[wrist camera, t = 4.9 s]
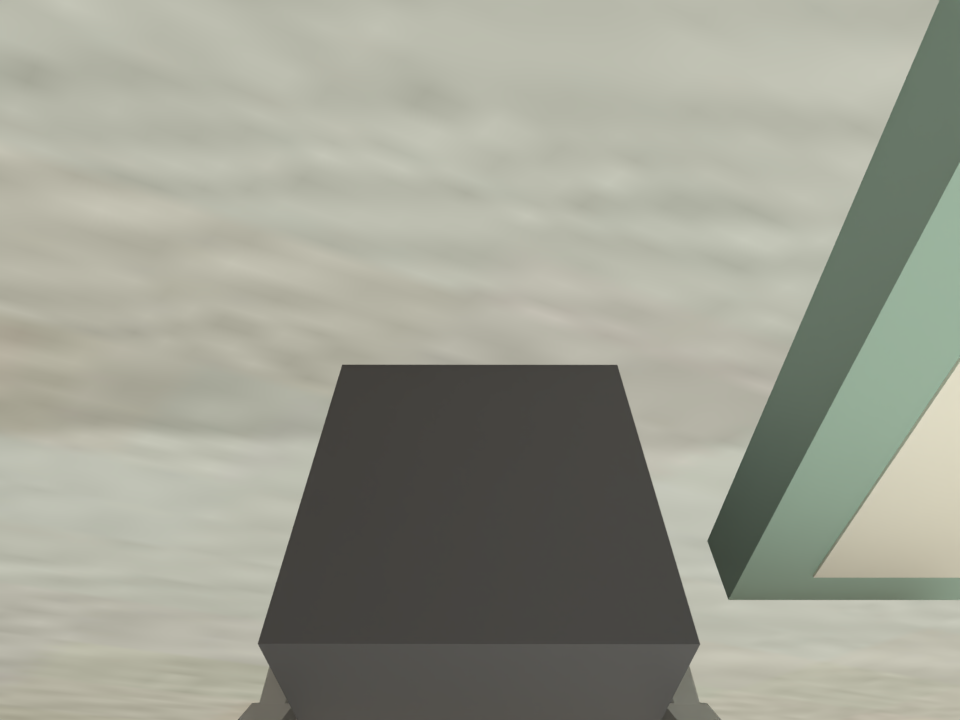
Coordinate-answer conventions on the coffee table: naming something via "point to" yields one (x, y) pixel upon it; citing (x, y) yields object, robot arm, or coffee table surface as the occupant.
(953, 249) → the header board
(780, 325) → the coffee table surface
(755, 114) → the coffee table surface
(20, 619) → the coffee table surface
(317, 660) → the block
